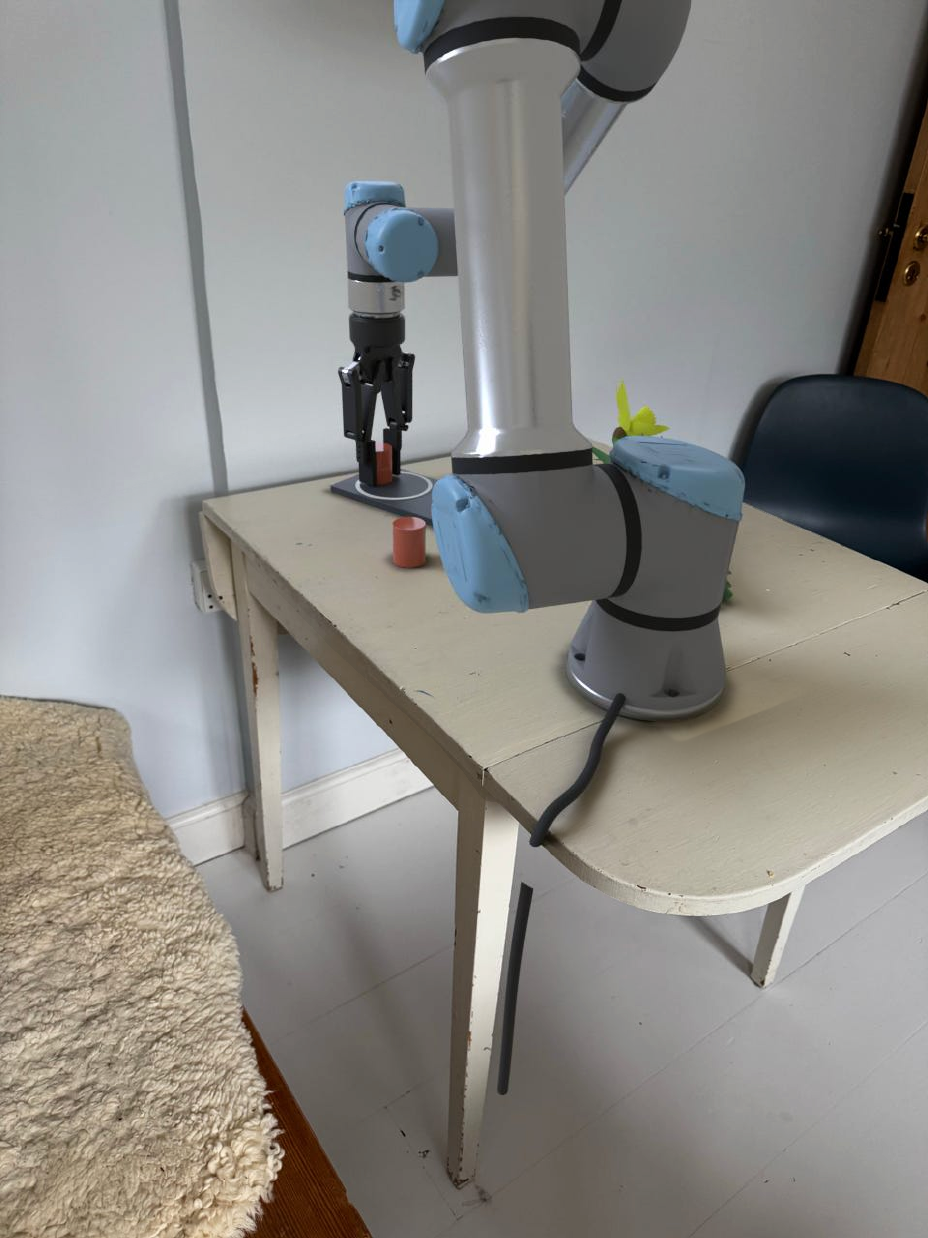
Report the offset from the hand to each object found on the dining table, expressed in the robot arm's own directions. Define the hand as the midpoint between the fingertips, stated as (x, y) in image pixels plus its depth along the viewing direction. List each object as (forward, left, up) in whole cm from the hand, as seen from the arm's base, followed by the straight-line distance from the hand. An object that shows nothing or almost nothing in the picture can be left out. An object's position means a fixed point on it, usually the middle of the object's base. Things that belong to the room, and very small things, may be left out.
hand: (380, 477), depth 123 cm
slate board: (0, -8, -1) cm, 8 cm away
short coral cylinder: (0, 0, 0) cm, 0 cm away
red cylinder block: (-16, -19, -1) cm, 25 cm away
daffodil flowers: (+5, -41, -2) cm, 41 cm away
